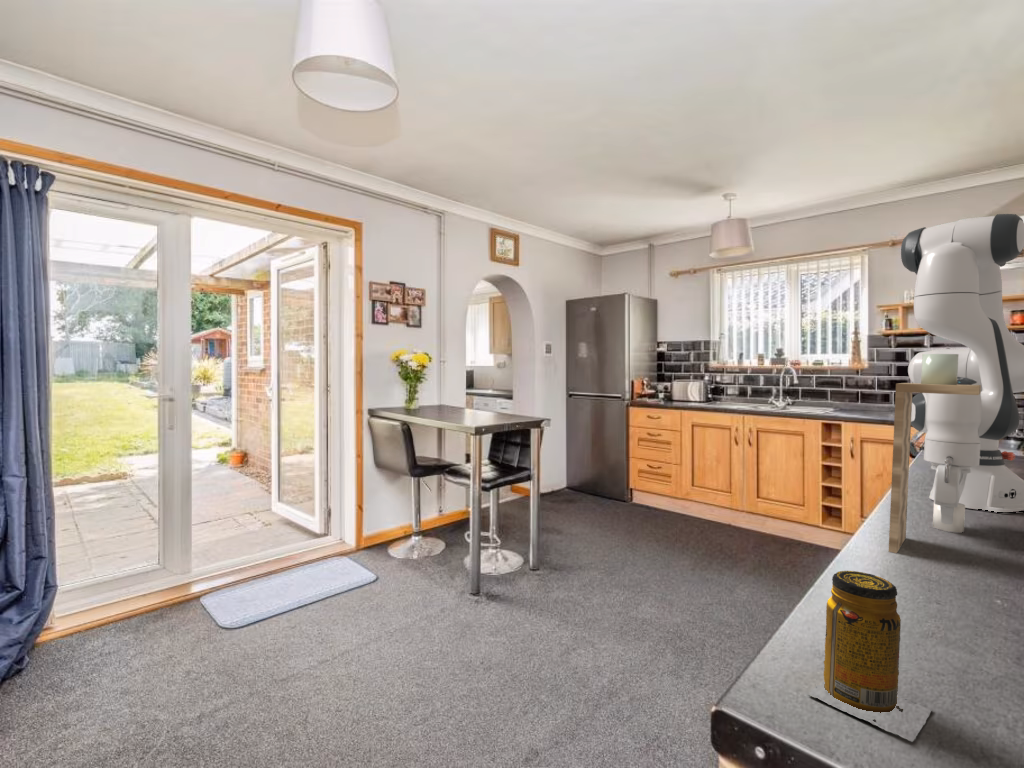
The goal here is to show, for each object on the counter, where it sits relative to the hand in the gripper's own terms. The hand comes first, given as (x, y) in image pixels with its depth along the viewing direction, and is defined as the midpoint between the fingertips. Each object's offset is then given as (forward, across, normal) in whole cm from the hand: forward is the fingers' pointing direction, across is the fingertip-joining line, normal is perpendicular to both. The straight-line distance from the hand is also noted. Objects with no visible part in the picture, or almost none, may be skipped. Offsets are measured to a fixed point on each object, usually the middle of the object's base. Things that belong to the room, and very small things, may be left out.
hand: (947, 520), depth 107 cm
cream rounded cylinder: (+2, 0, 0) cm, 2 cm away
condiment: (+2, -81, +1) cm, 81 cm away
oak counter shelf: (+2, -20, +1) cm, 21 cm away
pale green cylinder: (-29, -20, +1) cm, 35 cm away
